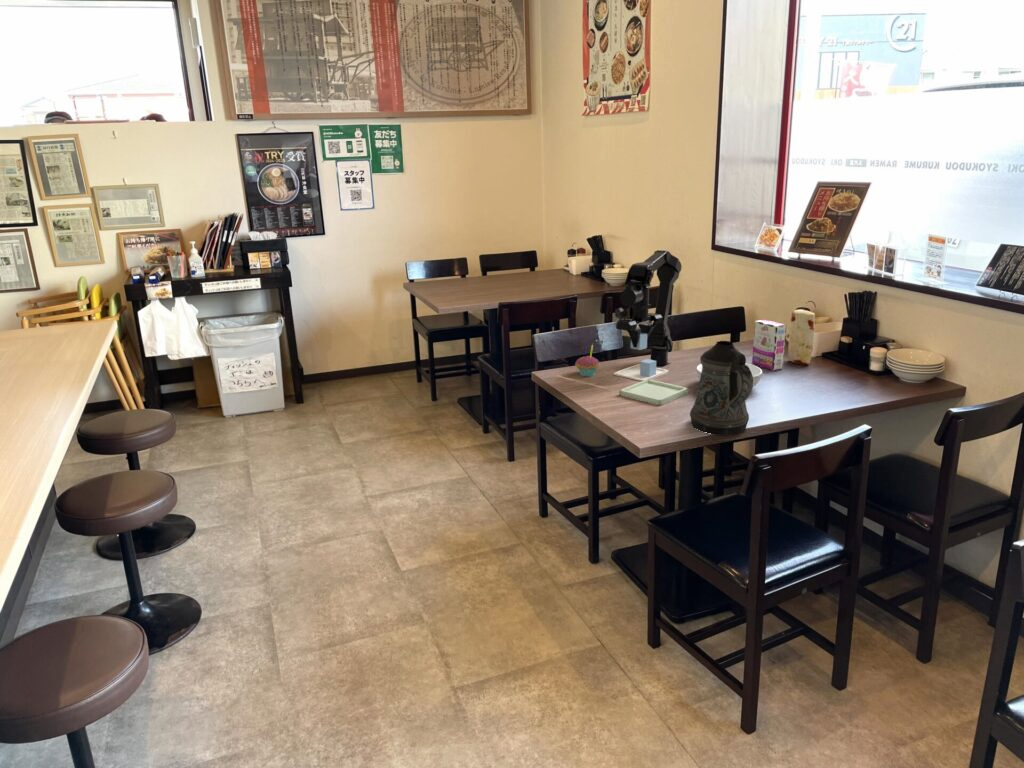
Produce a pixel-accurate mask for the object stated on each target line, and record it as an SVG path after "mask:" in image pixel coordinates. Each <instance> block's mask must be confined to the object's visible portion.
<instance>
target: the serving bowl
mask: <svg viewBox="0 0 1024 768" xmlns="http://www.w3.org/2000/svg"><path fill="white" fill-rule="evenodd" d="M745 365H747V366H748V367H749V369H750V371H751V373H752V376H753V387H752V388H754V387H756V386H757V385H758V384H759V382H760V381H761V378H762V374H763V370H762V369H761V368H760V366H757V365H754V364H752V363H747V362H746V363H745ZM701 372H702V364H701V363H700V364H698V365H697V366H696V374H697V377H698V381H700V377H701Z"/></svg>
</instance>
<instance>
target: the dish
mask: <svg viewBox="0 0 1024 768" xmlns="http://www.w3.org/2000/svg"><path fill="white" fill-rule="evenodd" d="M669 372H670V370H669V369H664V368H662V367H656V375H653V376H651V377H646V376H642V375H640V363H637V364H634V365H631V366H629V367H626V368H623V369H621V370H618V371H615V372H613V373H612V375H613V376H616V377H621V378H626V379H630V380H634V381H638V382H641V381H644V380H647V379H651V380H653V379H655V378H657V377H660V376H662V375H665V374H668V373H669Z"/></svg>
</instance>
